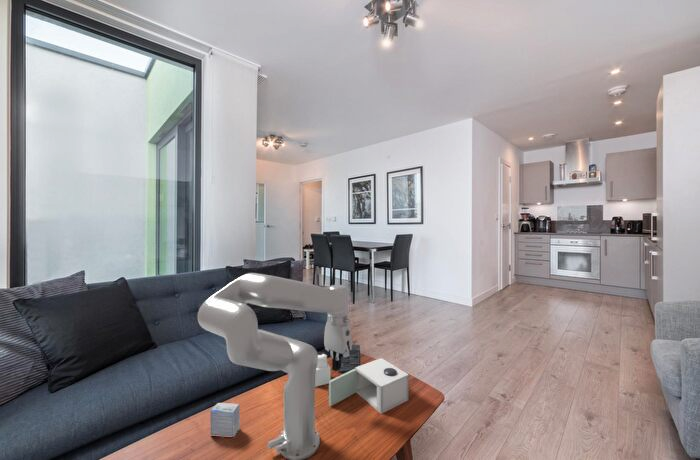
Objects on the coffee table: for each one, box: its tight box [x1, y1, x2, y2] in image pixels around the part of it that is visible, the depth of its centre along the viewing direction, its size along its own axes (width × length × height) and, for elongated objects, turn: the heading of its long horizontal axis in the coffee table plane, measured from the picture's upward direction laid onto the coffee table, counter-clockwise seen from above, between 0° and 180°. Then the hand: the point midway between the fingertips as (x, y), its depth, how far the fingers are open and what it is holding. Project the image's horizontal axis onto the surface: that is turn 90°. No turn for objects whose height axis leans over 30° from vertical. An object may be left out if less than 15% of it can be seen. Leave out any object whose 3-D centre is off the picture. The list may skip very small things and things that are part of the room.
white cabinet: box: [355, 357, 410, 414], centre depth 111 cm, size 14×16×11 cm
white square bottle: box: [315, 351, 332, 388], centre depth 121 cm, size 7×7×12 cm
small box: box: [337, 344, 361, 374], centre depth 131 cm, size 11×6×10 cm, turn 91°
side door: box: [327, 369, 357, 407], centre depth 109 cm, size 2×13×9 cm, turn 132°
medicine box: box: [209, 402, 241, 438], centre depth 91 cm, size 8×4×9 cm, turn 84°
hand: (336, 369), depth 103 cm, fingers closed
